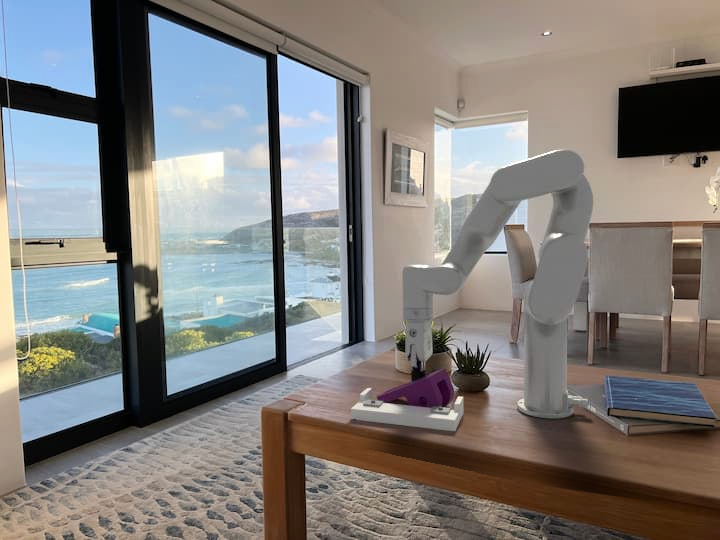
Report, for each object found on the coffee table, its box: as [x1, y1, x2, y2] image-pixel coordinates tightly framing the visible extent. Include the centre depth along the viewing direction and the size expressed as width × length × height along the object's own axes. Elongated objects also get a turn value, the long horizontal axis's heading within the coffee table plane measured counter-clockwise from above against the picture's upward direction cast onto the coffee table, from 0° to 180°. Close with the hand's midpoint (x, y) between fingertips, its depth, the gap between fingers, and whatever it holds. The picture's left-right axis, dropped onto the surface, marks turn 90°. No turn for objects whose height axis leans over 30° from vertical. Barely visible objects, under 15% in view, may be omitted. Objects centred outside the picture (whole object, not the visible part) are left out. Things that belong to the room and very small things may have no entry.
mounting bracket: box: [376, 367, 455, 408], centre depth 125 cm, size 9×8×18 cm
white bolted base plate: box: [350, 387, 464, 432], centre depth 119 cm, size 24×12×4 cm, turn 70°
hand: (418, 385), depth 129 cm, fingers closed
